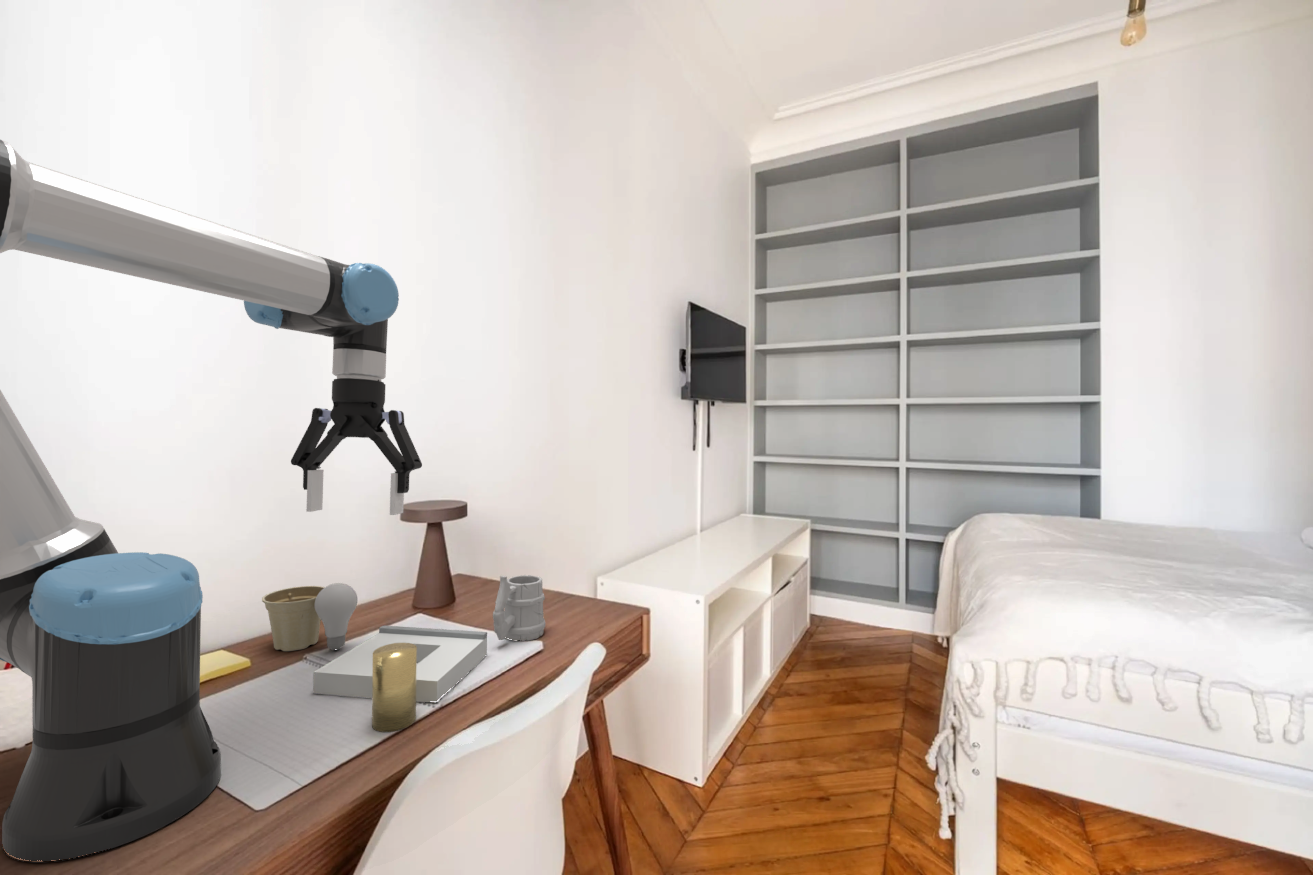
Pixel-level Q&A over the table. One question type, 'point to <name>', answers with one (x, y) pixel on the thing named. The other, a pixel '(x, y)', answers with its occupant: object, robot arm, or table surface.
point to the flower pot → (293, 617)
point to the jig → (437, 659)
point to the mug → (519, 608)
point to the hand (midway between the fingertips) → (355, 512)
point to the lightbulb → (336, 612)
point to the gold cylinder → (394, 687)
